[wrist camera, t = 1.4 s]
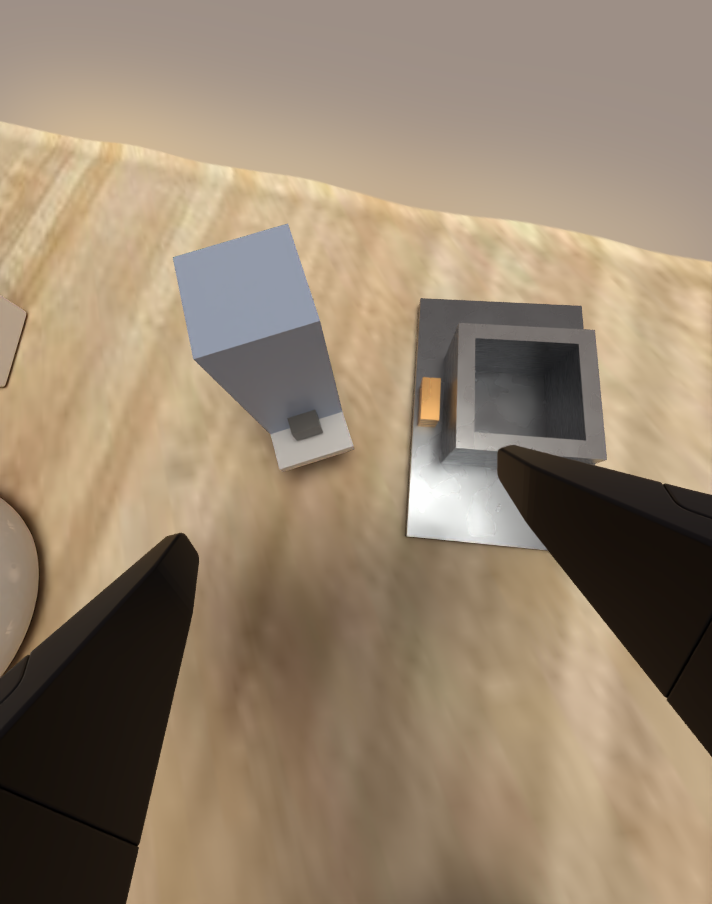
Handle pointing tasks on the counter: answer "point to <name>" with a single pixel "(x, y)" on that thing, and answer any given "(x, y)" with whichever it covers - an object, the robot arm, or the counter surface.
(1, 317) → the milk carton
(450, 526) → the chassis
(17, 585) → the teapot
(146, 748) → the robot arm
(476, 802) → the counter surface
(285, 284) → the grey tall block
